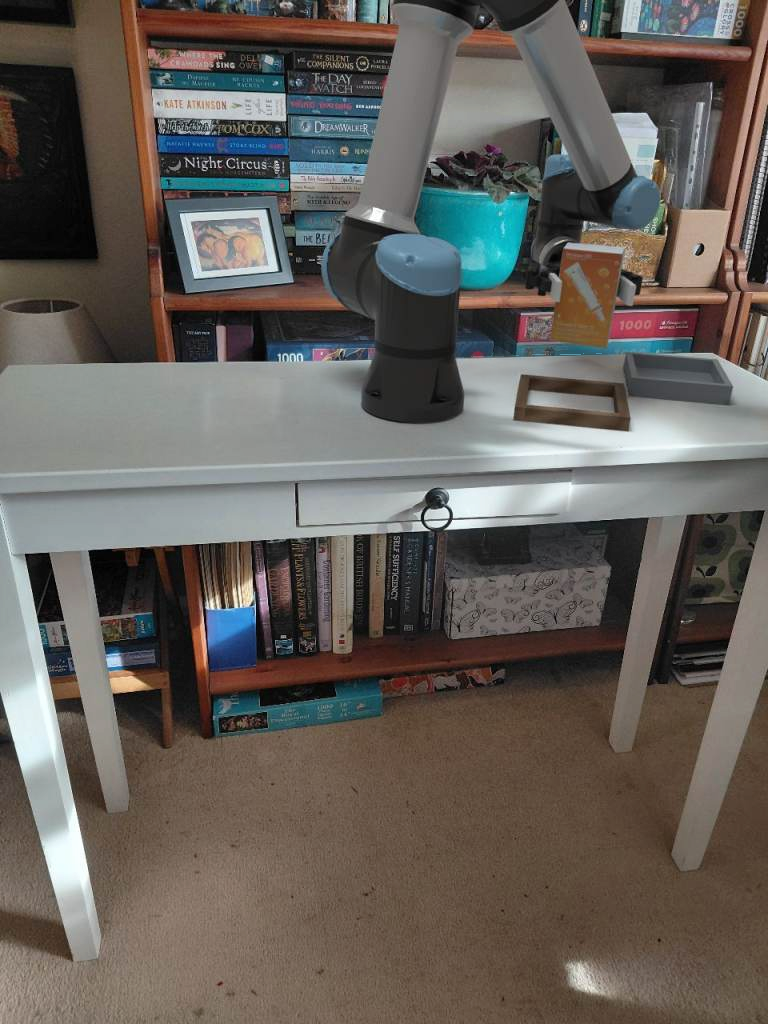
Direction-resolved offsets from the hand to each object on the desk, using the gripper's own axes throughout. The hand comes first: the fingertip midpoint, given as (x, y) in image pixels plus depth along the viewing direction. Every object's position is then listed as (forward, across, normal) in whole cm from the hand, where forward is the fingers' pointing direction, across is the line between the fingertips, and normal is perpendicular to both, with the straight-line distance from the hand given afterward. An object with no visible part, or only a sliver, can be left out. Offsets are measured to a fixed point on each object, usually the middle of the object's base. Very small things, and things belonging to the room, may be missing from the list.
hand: (594, 293), depth 111 cm
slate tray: (-17, -19, -17) cm, 31 cm away
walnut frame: (-4, 0, -18) cm, 18 cm away
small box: (-4, 0, -8) cm, 9 cm away
